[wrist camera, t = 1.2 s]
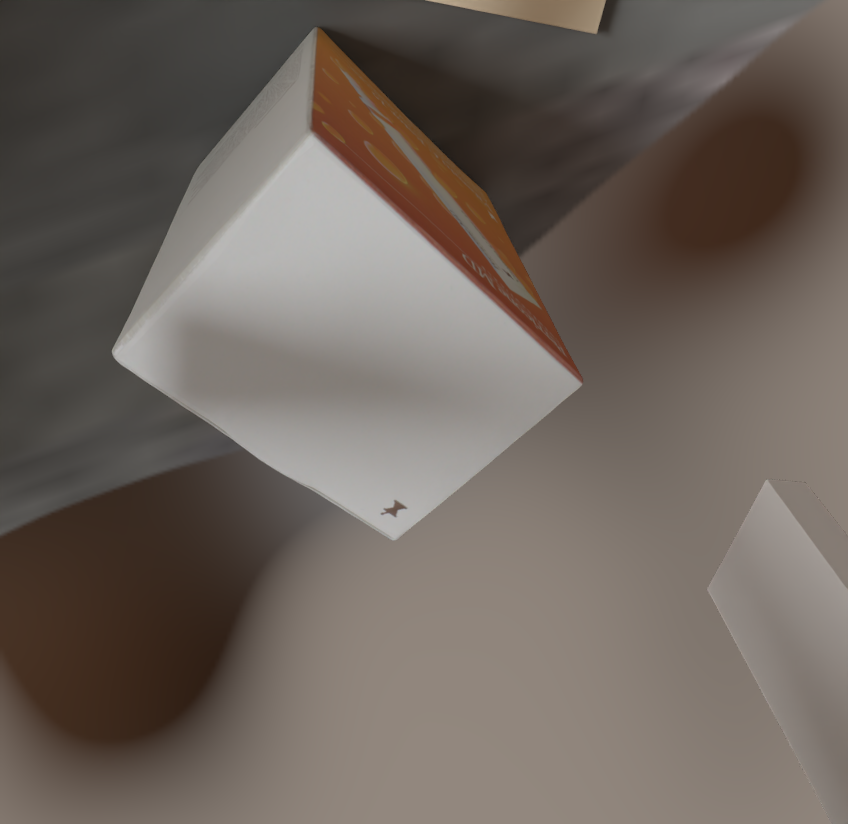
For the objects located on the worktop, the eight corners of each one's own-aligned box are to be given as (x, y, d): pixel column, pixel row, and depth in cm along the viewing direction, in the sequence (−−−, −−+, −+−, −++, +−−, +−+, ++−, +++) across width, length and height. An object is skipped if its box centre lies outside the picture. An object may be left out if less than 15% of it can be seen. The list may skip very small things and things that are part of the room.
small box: (489, 192, 28) (595, 388, 17) (369, 311, 30) (394, 552, 19) (315, 15, 24) (309, 125, 13) (191, 166, 26) (100, 365, 15)
